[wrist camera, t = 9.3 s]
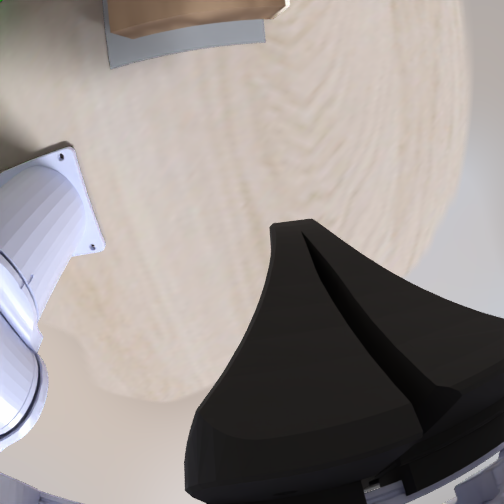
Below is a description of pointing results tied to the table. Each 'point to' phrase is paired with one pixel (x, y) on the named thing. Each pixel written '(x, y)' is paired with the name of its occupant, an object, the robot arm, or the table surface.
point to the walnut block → (184, 14)
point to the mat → (180, 39)
